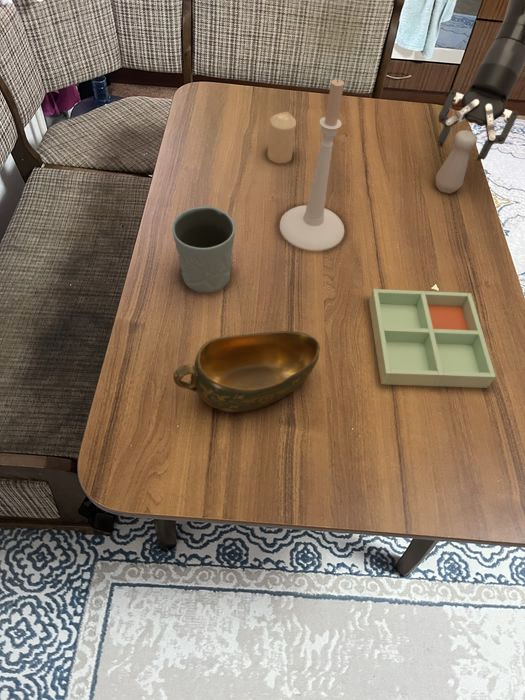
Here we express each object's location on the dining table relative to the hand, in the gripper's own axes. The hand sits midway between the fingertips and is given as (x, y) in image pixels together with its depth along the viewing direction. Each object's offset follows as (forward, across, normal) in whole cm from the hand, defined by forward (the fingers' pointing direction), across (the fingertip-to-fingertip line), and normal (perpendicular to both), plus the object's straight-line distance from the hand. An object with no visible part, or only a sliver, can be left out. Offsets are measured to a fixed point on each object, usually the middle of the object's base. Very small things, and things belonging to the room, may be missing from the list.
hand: (459, 153), depth 107 cm
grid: (+36, +11, -22) cm, 43 cm away
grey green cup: (+41, -29, -28) cm, 57 cm away
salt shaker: (+6, 0, +8) cm, 10 cm away
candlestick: (+26, -18, -12) cm, 34 cm away
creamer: (+53, -10, -39) cm, 66 cm away
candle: (+14, -35, 0) cm, 38 cm away
